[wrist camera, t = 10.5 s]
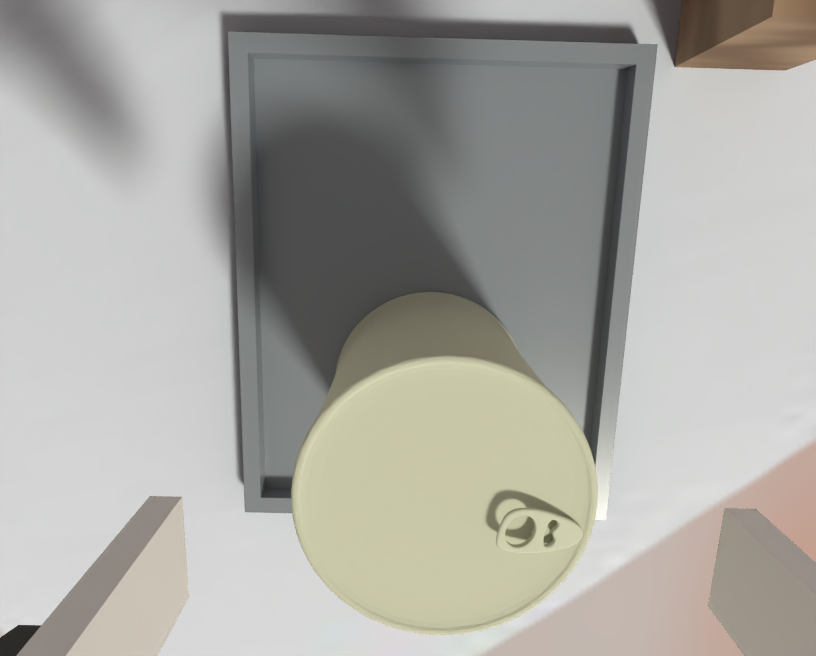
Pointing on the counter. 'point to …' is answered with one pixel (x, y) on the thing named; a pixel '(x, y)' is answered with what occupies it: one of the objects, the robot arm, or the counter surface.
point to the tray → (431, 213)
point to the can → (441, 473)
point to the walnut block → (746, 34)
